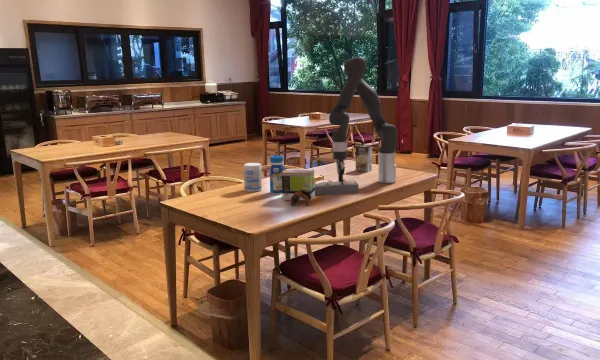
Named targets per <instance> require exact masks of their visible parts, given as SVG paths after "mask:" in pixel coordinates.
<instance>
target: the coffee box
mask: <svg viewBox="0 0 600 360" xmlns="http://www.w3.org/2000/svg"><path fill="white" fill-rule="evenodd" d="M372 170H373V145H366V144H359V145H356V146H355V171H356V172H363V173H364V172H365V173H369V172H372Z"/></svg>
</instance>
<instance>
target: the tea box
mask: <svg viewBox="0 0 600 360" xmlns="http://www.w3.org/2000/svg"><path fill="white" fill-rule="evenodd" d="M281 174H282V194H281V195H282V200H283V201H285V200H286V201H291V197H292V196H293V195H294V194H295V193H296V192H298V191H299V190H303V191H305V192H307V193H308V194H310V195H311V197H312V198H311V201H312V200H314V198H315V196H316V195H315V185H314V182H315V169H313V168H312V169H311V168H310V169H309V168H308V169H307V168H306V169H305V168H286V169H285V170H284V171H283V172H281ZM304 195H305V194H304ZM298 201H305V202H306V201H307V200H305V199H303V198H301V196H300V199H299V200H298ZM307 202H308V201H307Z"/></svg>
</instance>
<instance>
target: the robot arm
mask: <svg viewBox="0 0 600 360" xmlns="http://www.w3.org/2000/svg"><path fill="white" fill-rule="evenodd" d="M343 69H344V73H345V75H346V76H347V77H348V79H349V80H348V81H347V83H346V84H345V85H344V87H343V88H342V90H341V92H340V94H339V97H338V99H337V103H336V104H335V105H334V107H333V109H332V111H331V112H330V113H329V116H328V121H329V124H330V125H333V126H339V129H336V130H334V131H332V132H333V133H332V158H333V159H334V160H336V162H335V165H336V173H337V175H338V176H337V177H338V179H337V181H339V182H343V179H344V174H345V168H346V167H345V162H344V160H347V159H348V142H347V133H348V132H347V131H348V127H349V123H350V115H349V113H348V112H345V111H348V110H349V109H350V107H351V106H352V105H351V104H352V102H353V99H354V96H355V93H356V92H357V94H358V97H359V98H360V100H361V103H362V105H363V106H364V108H365V110H366V112H367V115H368V116H369V118H370V120H371V122H372V125H373V127H374V130H375V133H376V135H377V137H378V138H379V139H380V140H382V145H381V146H379V148H378V179H377V180H378V182H379V183H381V184H393V183H396V182H397V181H396V180H397V172H396V171H397V165H396V149H397V146H398V133H399V132H398V129H397V127H396V126H395V125H394V124H390V123H388V122H387V121H386V119H385V117H384V116H383V110H382V109H383V108H382V102H381V99H380V97H379V94H378V93H377V90H375V89H374V88H373V87H372V86H371V85H370V84H368V83H367V82H366V81H365V80H364V79H363V77H364V74H365V72H366V70H367V61H366V59H365V58H364V57H363V56H355V57H351V58H349V59H346V60H344V63H343Z"/></svg>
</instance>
